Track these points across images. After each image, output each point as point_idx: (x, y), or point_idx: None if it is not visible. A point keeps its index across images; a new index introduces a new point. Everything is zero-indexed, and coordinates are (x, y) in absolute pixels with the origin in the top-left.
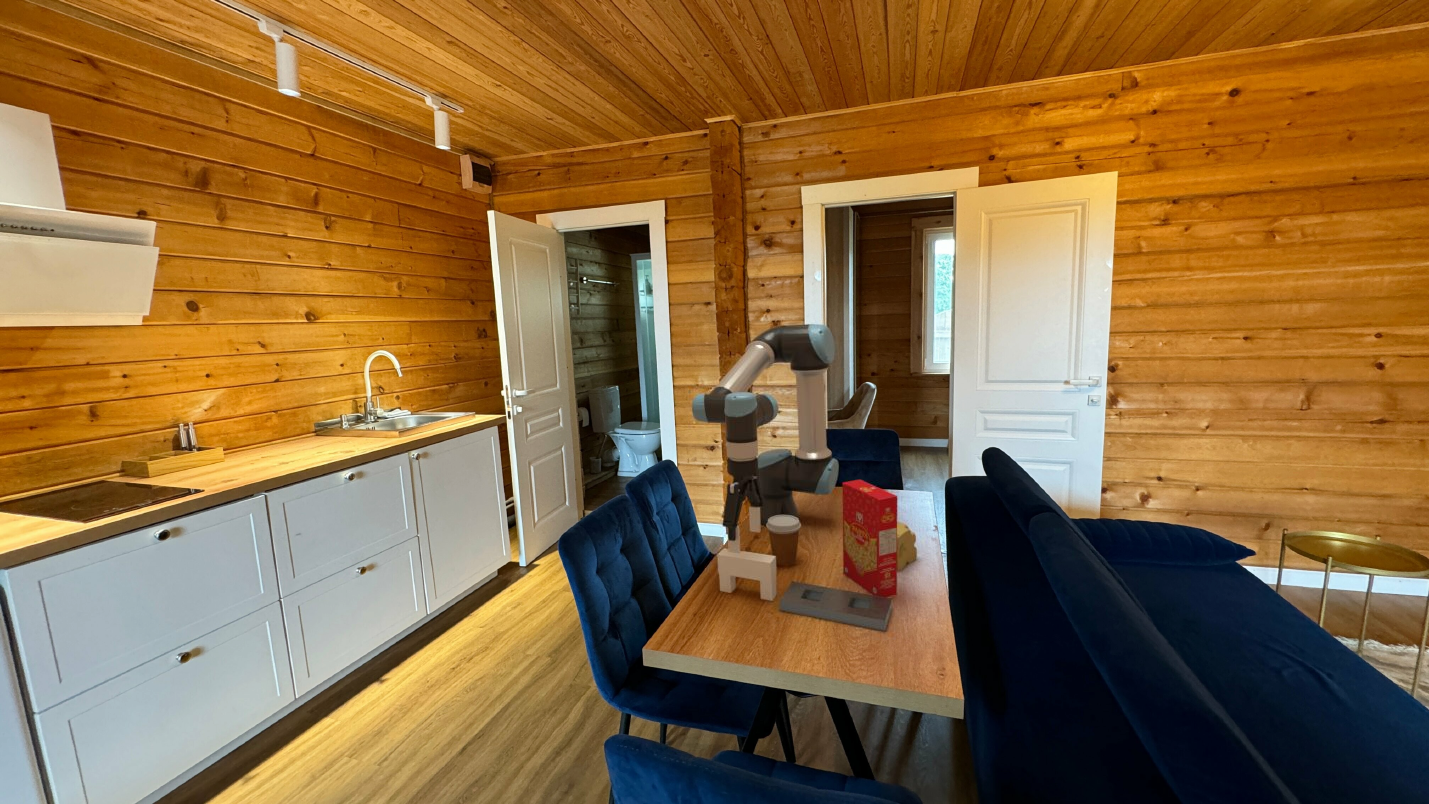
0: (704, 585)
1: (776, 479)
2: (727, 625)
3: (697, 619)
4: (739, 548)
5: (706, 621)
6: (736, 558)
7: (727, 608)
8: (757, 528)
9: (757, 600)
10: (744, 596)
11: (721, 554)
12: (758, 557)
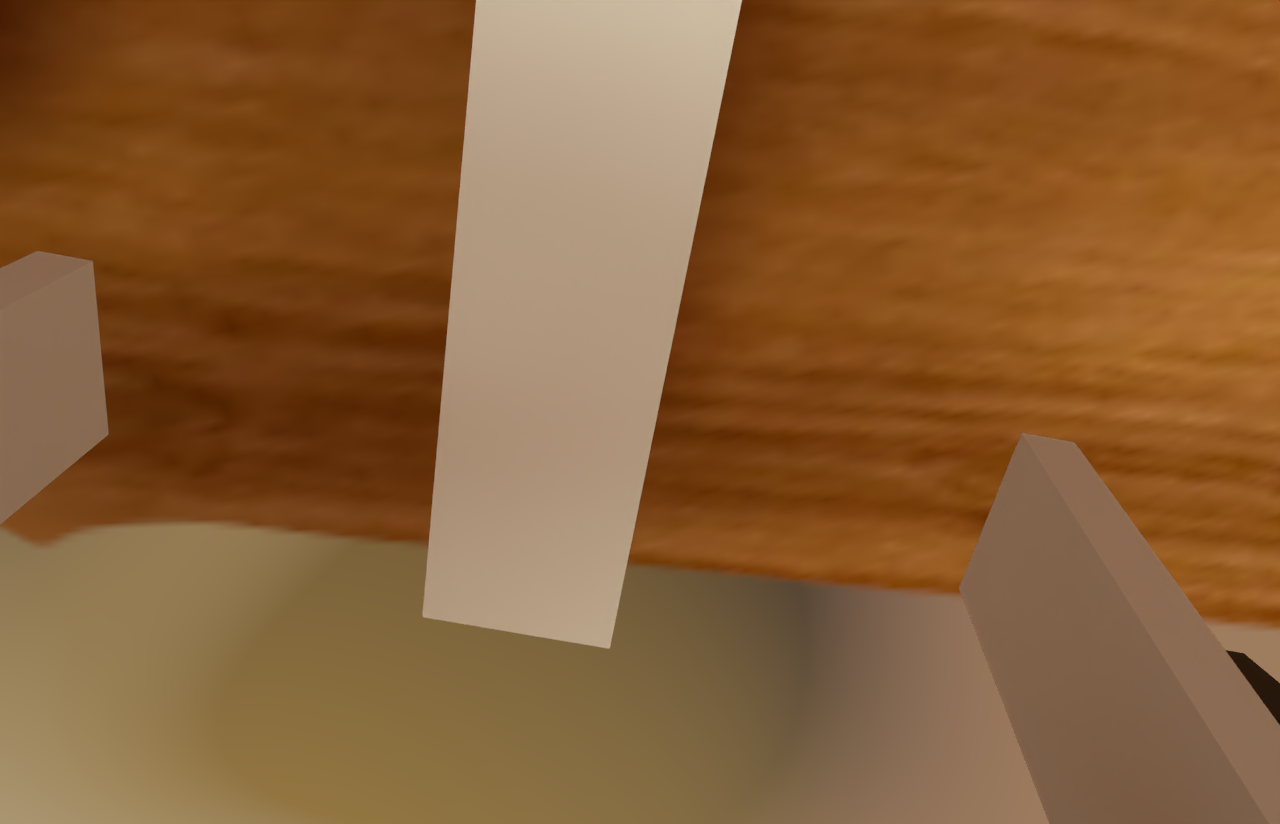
0: None
1: None
2: (1158, 252)
3: None
4: (1068, 476)
5: (1093, 420)
6: (651, 431)
7: (889, 310)
8: (49, 326)
9: None
10: None
11: (597, 610)
12: (594, 147)
